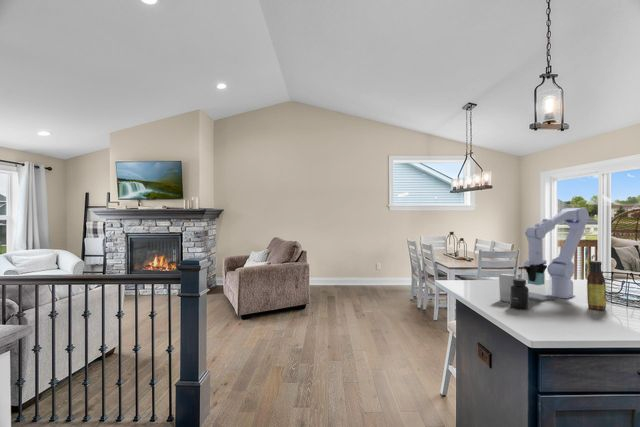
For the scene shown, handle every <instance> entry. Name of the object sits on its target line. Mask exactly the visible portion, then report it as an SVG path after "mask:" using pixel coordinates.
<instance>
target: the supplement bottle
mask: <svg viewBox="0 0 640 427" xmlns="http://www.w3.org/2000/svg"><path fill="white" fill-rule="evenodd" d="M513 284H514V285H512V286H511V288H510V304H509V306H510V308H512V309H515V310H520V309H521V310H523V311H524V310H528V309H529V300H528V298H529V292H530V291H529V287H528V286H526V285H527V280H526V279H522V278H516V279H513Z"/></svg>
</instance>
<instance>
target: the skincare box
mask: <svg viewBox="0 0 640 427" xmlns="http://www.w3.org/2000/svg"><path fill="white" fill-rule="evenodd" d="M513 279H517V275H516V274H510V273H501V274H498V281H499V282H498V284H499V301H504V302H510V288H511V286H512V285H514V284H513Z"/></svg>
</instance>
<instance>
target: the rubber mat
mask: <svg viewBox="0 0 640 427" xmlns="http://www.w3.org/2000/svg"><path fill="white" fill-rule="evenodd" d="M553 300H556V297H554V296H548V294H541V293H535V292H532V291H531V292H530V291H529V298H528V301H531V302H532V301H533V302H538V303H543V302H549V301H553Z"/></svg>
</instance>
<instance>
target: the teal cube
mask: <svg viewBox="0 0 640 427" xmlns="http://www.w3.org/2000/svg"><path fill="white" fill-rule="evenodd" d="M527 284H528V285H535V286H541V285H545V272H544V273H537V272H536V278H535V282H533V281H530V280H529V277H528V276H527Z"/></svg>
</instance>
